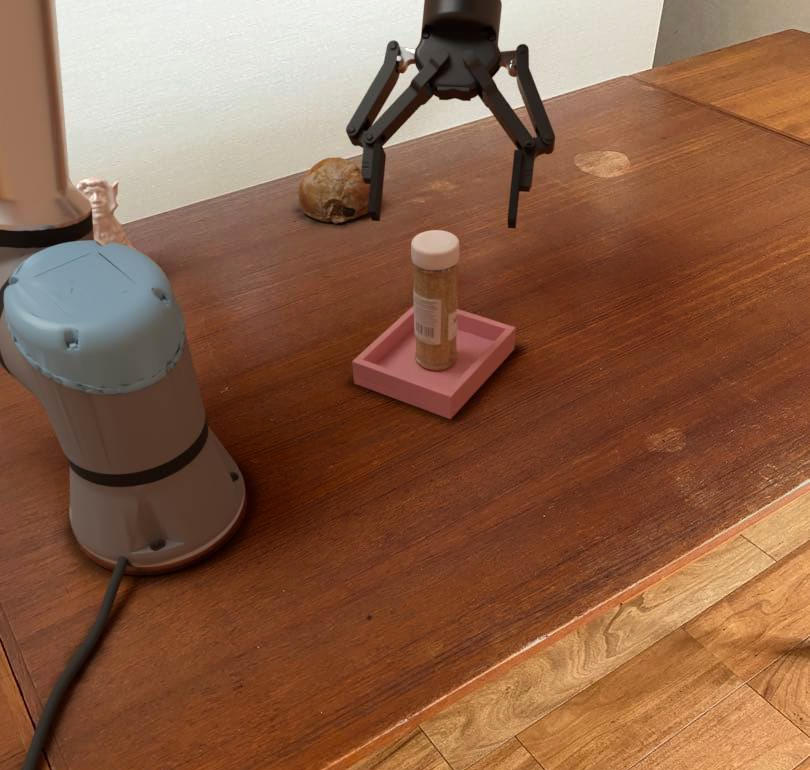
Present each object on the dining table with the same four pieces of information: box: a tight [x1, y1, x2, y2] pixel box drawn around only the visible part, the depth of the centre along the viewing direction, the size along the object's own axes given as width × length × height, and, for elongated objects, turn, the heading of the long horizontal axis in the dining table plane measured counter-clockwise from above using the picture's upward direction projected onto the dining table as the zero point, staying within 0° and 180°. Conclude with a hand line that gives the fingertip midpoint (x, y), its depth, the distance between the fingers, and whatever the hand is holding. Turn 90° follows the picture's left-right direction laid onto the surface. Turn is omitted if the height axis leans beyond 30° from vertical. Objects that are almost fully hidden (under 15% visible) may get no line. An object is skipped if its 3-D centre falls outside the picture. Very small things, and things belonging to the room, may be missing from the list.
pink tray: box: [351, 305, 517, 420], centre depth 90 cm, size 14×12×3 cm
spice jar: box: [410, 229, 460, 370], centre depth 86 cm, size 5×5×14 cm
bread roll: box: [297, 157, 370, 225], centre depth 114 cm, size 10×10×8 cm
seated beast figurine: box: [75, 176, 137, 250], centre depth 101 cm, size 10×9×12 cm
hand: (441, 220), depth 85 cm, fingers open, 13 cm apart
